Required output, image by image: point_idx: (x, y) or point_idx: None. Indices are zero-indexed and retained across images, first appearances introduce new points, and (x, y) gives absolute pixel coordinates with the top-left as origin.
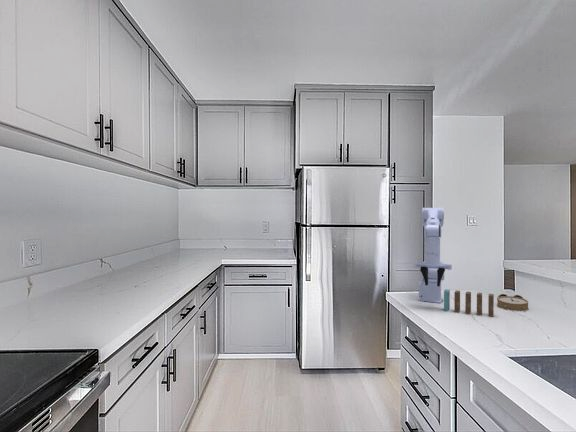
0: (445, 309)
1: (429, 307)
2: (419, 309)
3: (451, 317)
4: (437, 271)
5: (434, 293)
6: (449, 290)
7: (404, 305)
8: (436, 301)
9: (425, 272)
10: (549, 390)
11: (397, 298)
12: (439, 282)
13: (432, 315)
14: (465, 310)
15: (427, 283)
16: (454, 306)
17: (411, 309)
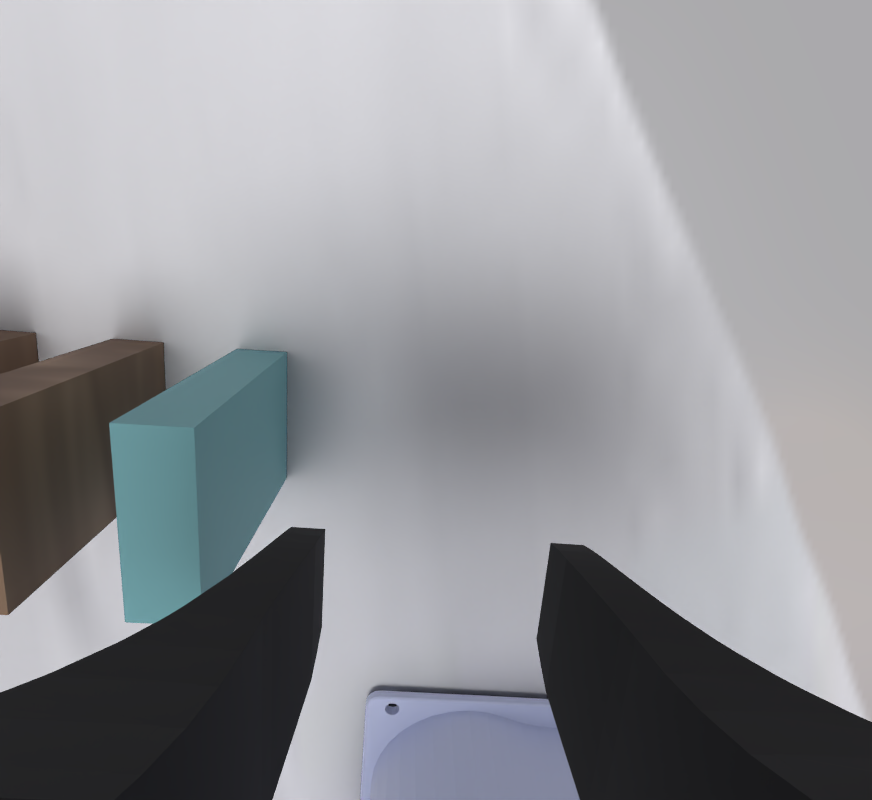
0: (263, 354)
1: (464, 445)
2: (572, 283)
3: (149, 29)
4: (112, 777)
5: (436, 797)
6: (127, 593)
7: (758, 408)
8: (410, 703)
9: (771, 748)
10: None
11: (840, 707)
12: (243, 564)
13: (388, 20)
14: (8, 339)
15: (553, 607)
16: (128, 357)
17: (668, 234)
